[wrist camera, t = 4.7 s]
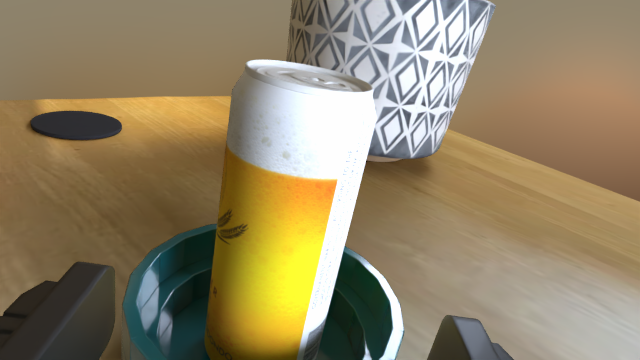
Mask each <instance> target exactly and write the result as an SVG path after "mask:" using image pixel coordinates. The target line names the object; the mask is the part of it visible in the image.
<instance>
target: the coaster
mask: <svg viewBox="0 0 640 360" xmlns="http://www.w3.org/2000/svg"><path fill="white" fill-rule="evenodd" d="M31 127H32V128H33V129H34V130H35V131H37V132H38V133H41V134H44V135H47V136H51V137H56V138H62V139H74V140H89V139H100V138H106V137H110V136H113V135H115V134H117V133H119V132H120V131H121V129H122V125H121V123H120V122H119V121H118V120H117V119H115V118H113V117H110V116H107V115H103V114H99V113H93V112H84V111H57V112H49V113H44V114H41V115H38V116H36V117H34V118H33V119H32V120H31Z"/></svg>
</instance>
